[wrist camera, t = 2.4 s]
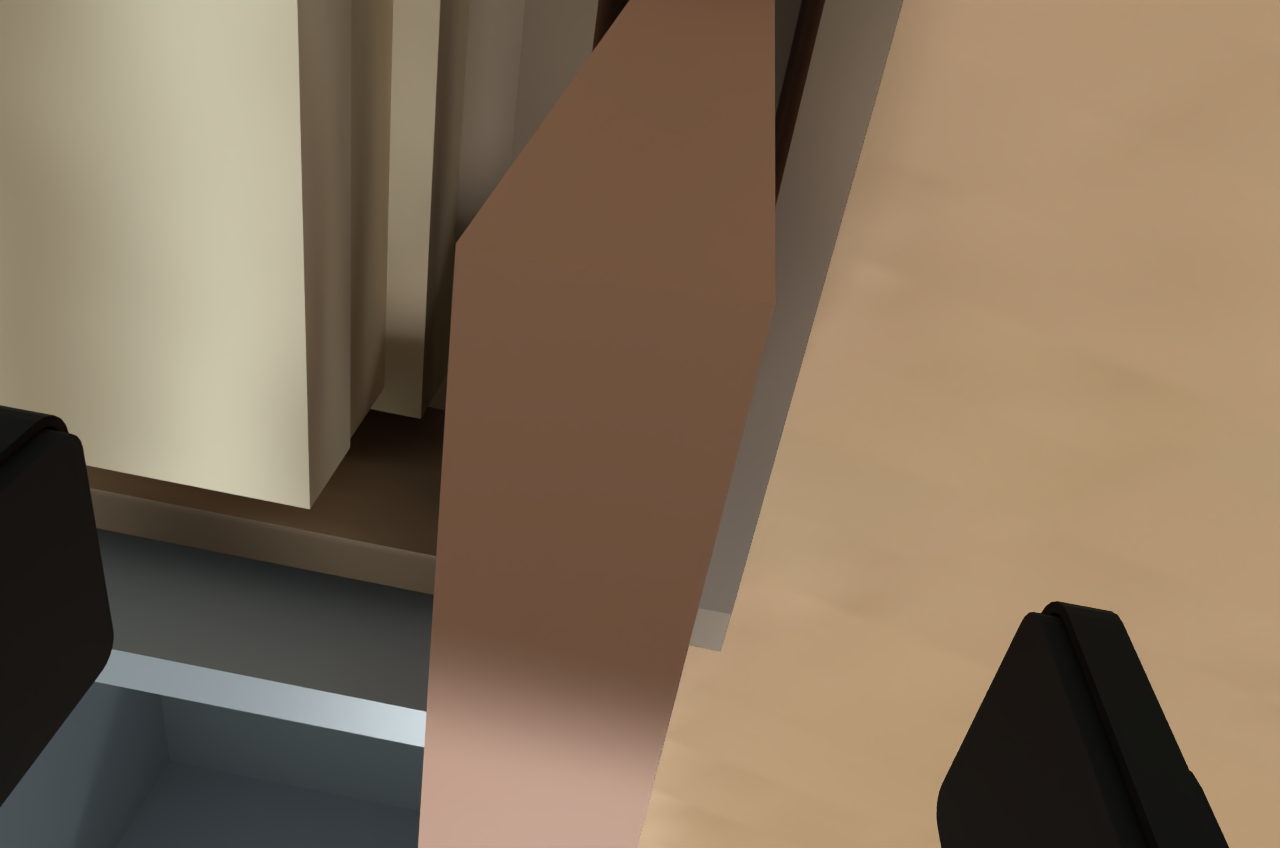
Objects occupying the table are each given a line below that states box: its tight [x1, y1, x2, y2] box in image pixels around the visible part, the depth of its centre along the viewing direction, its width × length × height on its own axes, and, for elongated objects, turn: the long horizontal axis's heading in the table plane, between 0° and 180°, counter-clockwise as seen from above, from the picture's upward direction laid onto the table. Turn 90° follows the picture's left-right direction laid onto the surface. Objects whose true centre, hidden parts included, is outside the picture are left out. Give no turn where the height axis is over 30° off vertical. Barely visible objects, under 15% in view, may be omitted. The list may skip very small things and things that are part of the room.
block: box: [418, 0, 776, 848], centre depth 14 cm, size 2×10×15 cm, turn 171°
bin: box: [0, 528, 434, 848], centre depth 26 cm, size 14×14×8 cm
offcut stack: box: [0, 0, 470, 509], centre depth 18 cm, size 10×10×6 cm
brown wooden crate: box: [86, 0, 903, 651], centre depth 19 cm, size 20×14×6 cm
